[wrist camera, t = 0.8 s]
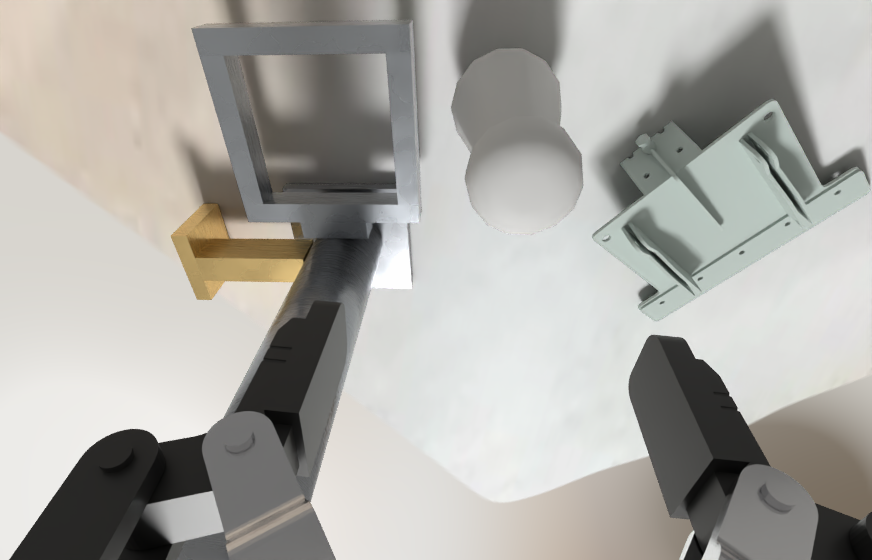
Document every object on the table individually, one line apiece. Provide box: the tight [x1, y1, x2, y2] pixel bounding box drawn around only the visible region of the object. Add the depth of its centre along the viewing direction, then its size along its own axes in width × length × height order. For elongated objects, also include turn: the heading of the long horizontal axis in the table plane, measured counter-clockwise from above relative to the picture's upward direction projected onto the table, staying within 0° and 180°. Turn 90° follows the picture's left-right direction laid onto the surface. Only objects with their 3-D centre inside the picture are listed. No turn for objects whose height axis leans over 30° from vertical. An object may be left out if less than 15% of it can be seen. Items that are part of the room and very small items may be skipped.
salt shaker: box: [451, 48, 583, 235], centre depth 21 cm, size 6×6×13 cm
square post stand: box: [171, 20, 422, 560], centre depth 21 cm, size 15×18×22 cm
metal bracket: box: [592, 99, 871, 321], centre depth 30 cm, size 14×6×15 cm
